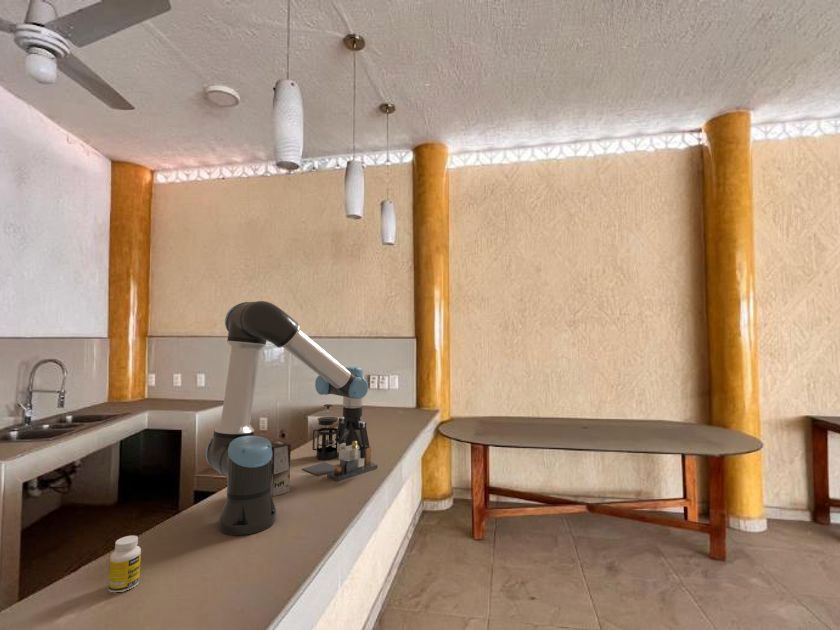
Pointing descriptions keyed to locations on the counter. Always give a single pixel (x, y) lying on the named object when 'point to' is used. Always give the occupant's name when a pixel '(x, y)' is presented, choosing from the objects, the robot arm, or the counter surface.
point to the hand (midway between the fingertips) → (351, 463)
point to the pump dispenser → (350, 438)
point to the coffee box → (280, 467)
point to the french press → (324, 451)
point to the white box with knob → (349, 452)
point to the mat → (320, 469)
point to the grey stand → (352, 468)
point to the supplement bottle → (124, 564)
